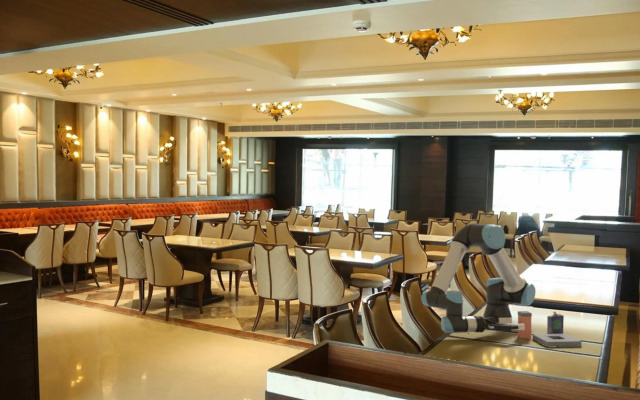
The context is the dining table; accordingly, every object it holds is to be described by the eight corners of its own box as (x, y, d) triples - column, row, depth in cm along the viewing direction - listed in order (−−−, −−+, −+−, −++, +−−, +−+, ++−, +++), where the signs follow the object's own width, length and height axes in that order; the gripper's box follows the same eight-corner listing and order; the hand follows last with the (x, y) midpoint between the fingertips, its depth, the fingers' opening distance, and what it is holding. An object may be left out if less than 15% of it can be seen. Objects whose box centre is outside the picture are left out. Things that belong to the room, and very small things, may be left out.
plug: (517, 336, 268) (517, 311, 268) (527, 336, 268) (527, 311, 268) (522, 339, 263) (522, 313, 263) (531, 338, 263) (531, 313, 263)
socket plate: (532, 339, 262) (532, 334, 262) (565, 339, 263) (565, 333, 263) (547, 347, 248) (547, 341, 248) (581, 346, 249) (581, 341, 249)
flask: (549, 334, 271) (549, 312, 271) (545, 333, 274) (545, 311, 274) (564, 333, 274) (564, 311, 274) (560, 332, 277) (560, 310, 277)
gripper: (465, 326, 276) (506, 325, 277) (484, 338, 251) (529, 338, 252) (465, 311, 276) (506, 310, 277) (484, 322, 251) (529, 321, 252)
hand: (517, 323), depth 265 cm, fingers open, 13 cm apart
